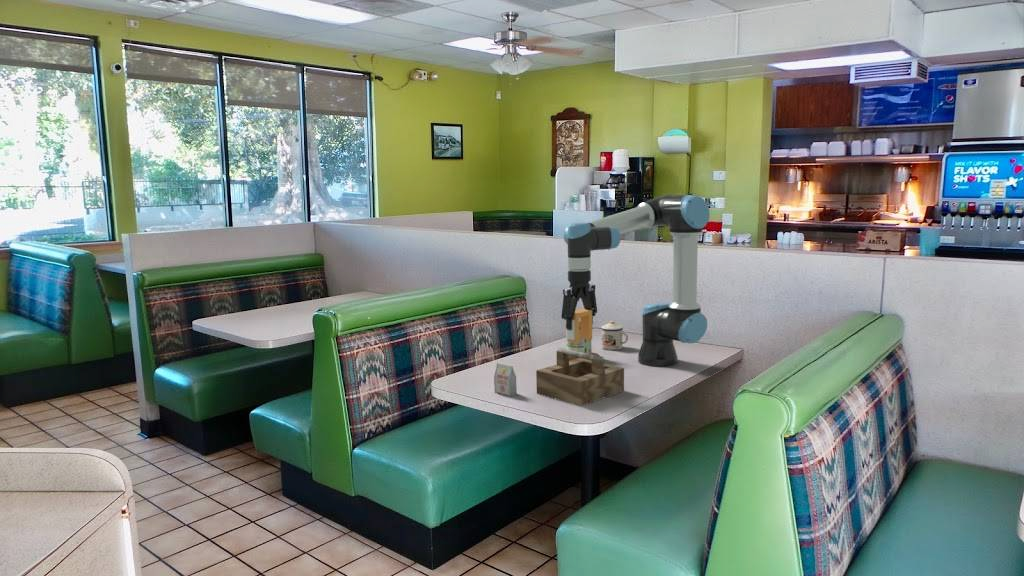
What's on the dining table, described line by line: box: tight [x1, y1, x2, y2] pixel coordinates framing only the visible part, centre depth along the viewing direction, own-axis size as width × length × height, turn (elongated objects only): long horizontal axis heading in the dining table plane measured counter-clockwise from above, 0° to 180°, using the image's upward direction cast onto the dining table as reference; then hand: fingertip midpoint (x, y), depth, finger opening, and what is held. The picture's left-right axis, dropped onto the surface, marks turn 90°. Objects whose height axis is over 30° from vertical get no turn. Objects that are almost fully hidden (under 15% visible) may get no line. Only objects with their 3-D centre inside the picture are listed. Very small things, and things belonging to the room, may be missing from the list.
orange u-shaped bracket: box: [567, 308, 593, 343], centre depth 235 cm, size 8×4×10 cm, turn 133°
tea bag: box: [493, 362, 518, 397], centre depth 239 cm, size 4×7×10 cm, turn 49°
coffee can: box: [565, 321, 593, 353], centre depth 282 cm, size 10×10×14 cm
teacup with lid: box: [601, 320, 629, 351], centre depth 297 cm, size 12×9×12 cm
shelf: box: [535, 347, 625, 407], centre depth 238 cm, size 22×20×14 cm
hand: (579, 336), depth 236 cm, fingers closed on orange u-shaped bracket, 8 cm apart
